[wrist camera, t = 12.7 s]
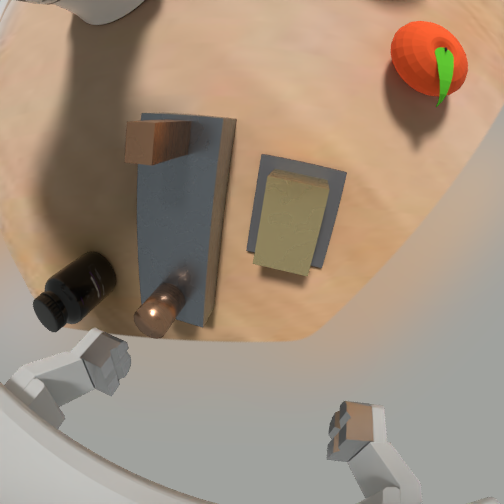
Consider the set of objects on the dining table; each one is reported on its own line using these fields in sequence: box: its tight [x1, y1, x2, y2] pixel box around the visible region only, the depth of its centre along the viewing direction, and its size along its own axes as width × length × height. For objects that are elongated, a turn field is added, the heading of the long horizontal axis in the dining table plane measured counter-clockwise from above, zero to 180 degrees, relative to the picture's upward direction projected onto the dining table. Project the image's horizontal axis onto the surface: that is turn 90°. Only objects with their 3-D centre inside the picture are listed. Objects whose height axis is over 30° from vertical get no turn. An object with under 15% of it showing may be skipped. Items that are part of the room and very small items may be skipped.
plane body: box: [125, 113, 236, 339], centre depth 26 cm, size 22×8×10 cm, turn 172°
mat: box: [246, 154, 347, 268], centre depth 28 cm, size 10×8×1 cm
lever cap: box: [253, 169, 330, 276], centre depth 26 cm, size 8×5×4 cm, turn 172°
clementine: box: [391, 21, 468, 107], centre depth 16 cm, size 8×7×7 cm
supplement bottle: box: [33, 252, 116, 332], centre depth 32 cm, size 7×7×12 cm
